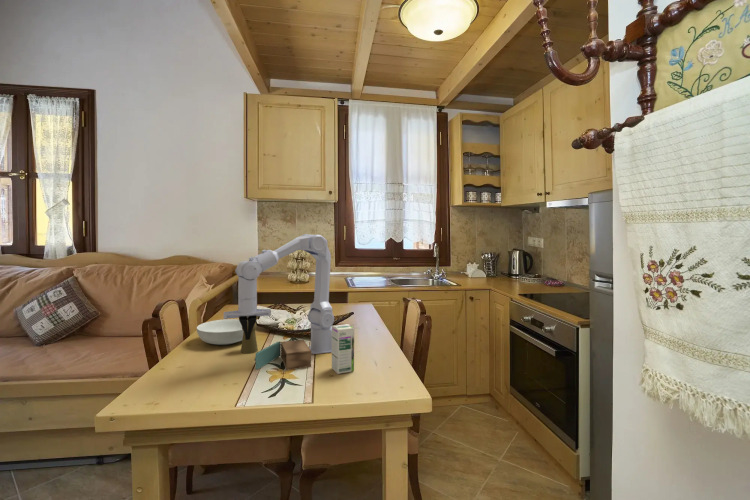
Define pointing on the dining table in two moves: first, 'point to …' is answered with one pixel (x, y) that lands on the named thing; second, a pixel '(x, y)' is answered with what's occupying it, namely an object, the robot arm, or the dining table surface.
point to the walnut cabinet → (295, 354)
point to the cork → (249, 342)
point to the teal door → (268, 354)
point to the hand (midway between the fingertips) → (247, 338)
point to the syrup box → (343, 348)
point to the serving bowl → (221, 331)
